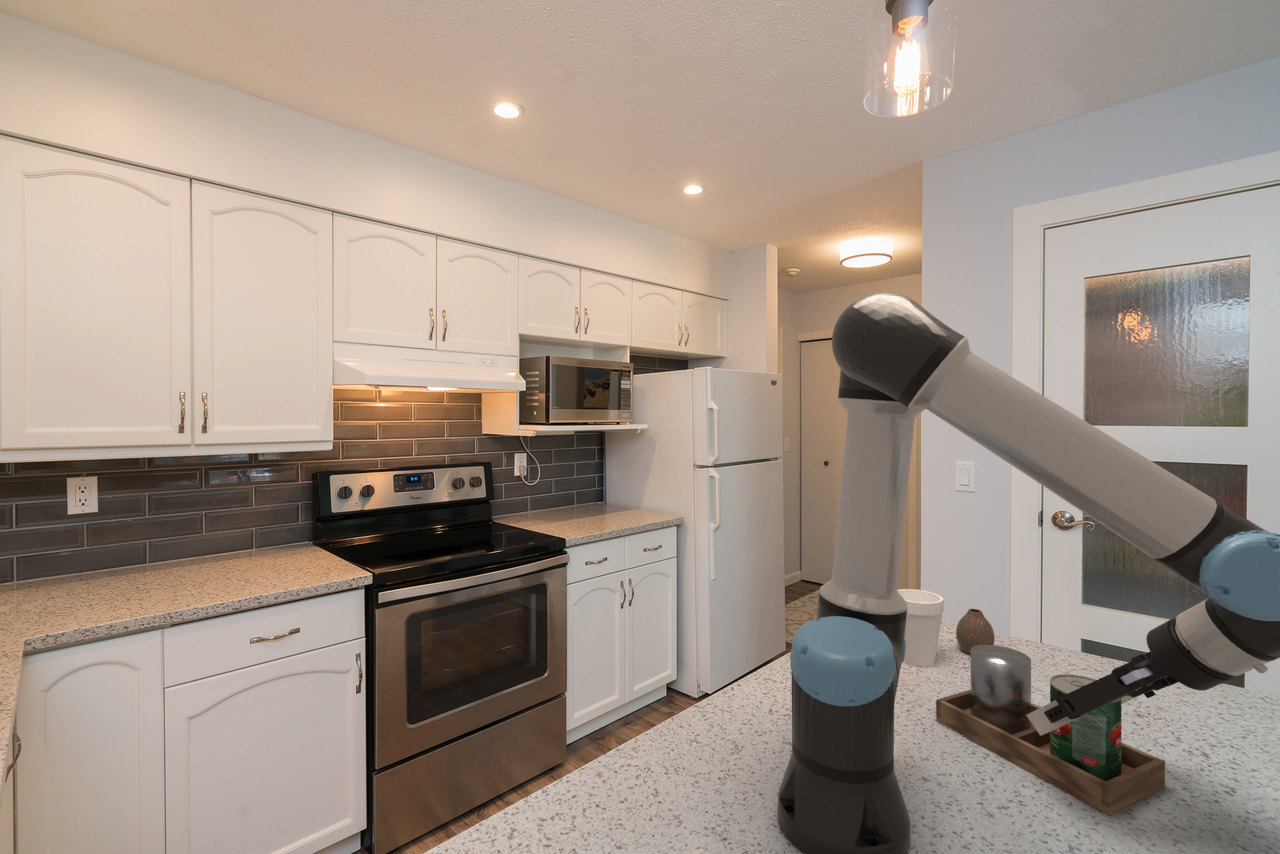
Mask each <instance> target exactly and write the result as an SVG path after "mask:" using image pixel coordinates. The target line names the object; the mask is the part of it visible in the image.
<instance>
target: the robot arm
mask: <svg viewBox="0 0 1280 854" xmlns="http://www.w3.org/2000/svg"><path fill="white" fill-rule="evenodd" d="M831 347H832V348H831V349H832V353H833V357H834V359H835V361H836V362H835V363H836V364H837V366H838V367H839V368H840V371H839V372H840V374H839V383H838V395H837V401H838V402H839V403H840V404H841V406H842V407H843V408H844V409H845V411H846V412H847V419H846V430H845V439H844V451H843V452H844V453H843V458H842V459H843V462H842V471H841V481H840V482H841V483H840V491H839V501H838V502H839V503H838V513H837V521H836V522H837V523H836V534H835V544H834V552H833V553H834V554H833V563H832V575H831V578H830V580H828V581H827V582H825V583H823V584H822V585H821V586H820V588H819V595H818V601H817V602H818V605H817V613H816V620H814V619H810V620H808V621H806V622H805V623H803V624H802V625H801V626H800V627H798V628H797V630H796V631H795V633H794V636H793V638H792V642H791V643H792V645H791V650H790V654H789V660H790V665H789V666H790V670H791V741H792V742H791V744H792V745H791V754H790V758H789V761H788V764H787V767H786V769H785V772H784V775H783V776H782V777H783V778H782V781H781V784H780V786H779V790H778V793H777V794H778V795H777V818H778V819H777V820H778V823H779V825H780V828H781V830H782V831H783V833H784V836H786V837H787V839H788V840H789V841H790V842H791V843H792V844H793V845H794V846H795V847H796V848H797V849H799V850H800V851H801V852H803V853H804V854H908V853H909V851H910V848H911V820H910V814H909V811H908V808H907V805H906V803H905V800H904V796H903V794H902V793H903V792H902V790H901V787H900V785H899V782H898V779H897V775H896V773H895V702H896V701H895V700H896V696H897V695H896V694H897V691H898V689H897V688H898V684H899V679H900V678H899V677H900V673H901V669H902V664H903V663H904V662H903V660H904V656H905V649H906V641H905V639H904V637H905V627H906V616H907V603H906V601H905V600H904V599H903V598H902V596H901V595H900V594H899V593H898V591H897V590H898V584H899V575H900V564H901V555H902V545H903V535H904V527H905V526H904V525H905V519H906V518H905V516H906V508H907V507H906V506H907V498H908V488H909V478H910V477H909V476H910V471H911V470H910V469H911V459H912V458H911V457H912V452H913V443H914V442H913V441H914V429H915V421H916V418H917V417H918V416H919V415H921V413H923V412H924V411H927V410H928V412H930V413H931V414H933V415H935V416H936V417H938V418H939V419H941V420H942V421H944V422H945V423H947V424H948V425H950V426H952V427H953V428H954V429H956V430H958V431H959V432H961V433H962V434H963V435H965V436H967V437H968V438H970V439H972V441H974V442H976V443H977V444H979V445H980V446H981V447H984V449H986V450H988V451H990V452H991V453H992V454H994V455H995V456H997V457H999V458H1000V459H1002V460H1003V461H1005V462H1006V463H1007V464H1009V465H1010V466H1013V467H1014V468H1015V469H1017V470H1018V471H1020V472H1021V473H1022V474H1024V475H1026V476H1027V477H1029V478H1030V479H1032V480H1033V481H1034V482H1036V483H1038V484H1040V485H1041V486H1042V487H1044V488H1045V489H1047V490H1049V491H1050V492H1052V493H1053V494H1054V495H1057V497H1059V498H1061V499H1062V500H1064V501H1065V502H1067V503H1069V504H1070V505H1072V506H1073V507H1075V508H1076V509H1078V510H1079V511H1081V512H1082V513H1083V514H1085V515H1087V516H1088V517H1090V518H1091V519H1093V520H1094V521H1095V522H1097V523H1098V524H1100V525H1102V526H1103V527H1105V528H1106V529H1108V530H1109V531H1111V532H1113V533H1114V534H1115V535H1116V536H1119V537H1120V538H1121V539H1123V540H1125V541H1126V542H1128V543H1130V544H1131V545H1132V546H1134V547H1135V548H1136V549H1138V550H1139V551H1142V552H1143V553H1145V554H1146V555H1147V556H1149V557H1150V558H1152V559H1153V560H1155V561H1156V562H1157V563H1159V565H1162V566H1163V567H1165V569H1168V570H1169V571H1170V572H1171V573H1174V574H1176V575H1177V576H1178V577H1180V578H1181V579H1182V580H1184V581H1186V582H1187V583H1189V584H1191V585H1192V586H1194V587H1195V588H1196V589H1198V590H1199V591H1201V592H1202V593H1204V594H1205V595H1206V596H1207V597H1208V598H1206V599H1204V600H1202V601H1201V602H1199V603H1196V604H1195V605H1194V606H1192V607H1190V608H1188V609H1186V610H1184V611H1183V612H1181V613H1179V614H1177V616H1176V618H1170V619H1169V620H1167V621H1165V622H1163V623H1161V624H1160V625H1158V626H1156V627H1154V628H1153V629H1151V630H1149V631H1148V632H1147V634H1146V639H1145V640H1146V644H1147V645H1146V646H1147V648H1148V650H1149V652H1146V653H1145V654H1143V653H1141V654H1138V655H1136V656H1134V657H1132V658H1131V659H1130V660H1129V662H1127V663H1124V664H1122V665H1120V666H1117V667H1114V668H1113V669H1112V670H1111V672H1110V673H1109V674H1107V675H1105V676H1102V677H1100V678H1098V679H1096V681H1094V682H1092V683H1089V684H1087V685H1085V686H1083V687H1081V688H1079V689H1076V690H1074V691H1072V692H1070V693H1068V694H1066V695H1063V694H1062V692H1061V691H1058V692H1056V694H1057V696H1058V697H1057V698H1056V699H1055V701H1053V702H1051V703H1050V702H1049V703H1047V704H1045V705H1043V706H1040V707H1041V708H1039V709H1037V710H1035V711H1033V712H1031V713H1029V714H1027V715H1026V716H1027V717H1028V719H1029V720H1030V721H1031V723H1032V724H1033V726H1034V727H1035V729H1036V730H1037V732H1038V733H1039V734H1040V736H1042V735H1044V734H1046V733H1048V732H1051V731H1053V730H1055V729H1057V728H1059V727H1061V726H1063V725H1065V724H1067V723H1070V722H1072V721H1074V720H1076V719H1078V718H1080V717H1082V715H1083V714H1085V713H1087V712H1090V711H1092V710H1094V709H1097V708H1099V707H1101V706H1103V705H1106V704H1108V703H1110V702H1113V701H1115V700H1117V699H1120V698H1122V699H1121V705H1123V704H1125V703H1127V702H1129V701H1132V700H1134V699H1136V698H1138V697H1140V696H1142V695H1144V697H1145V698H1146V699H1149V698H1152V697H1154V696H1156V695H1157V694H1156V692H1157V691H1160V690H1162V689H1164V688H1167V687H1170V686H1173V685H1176V684H1178V683H1180V684H1181V685H1183V686H1185V687H1187V688H1189V689H1192V690H1194V691H1195V690H1196V691H1203V692H1204V691H1208V690H1210V689H1212V688H1215V687H1217V686H1219V685H1221V684H1222V685H1223V684H1224V683H1226V682H1228V681H1231V680H1232V679H1233V678H1234V676H1236V677H1237V676H1241V675H1244V674H1245V673H1247V672H1250V671H1252V670H1255V671H1256V672H1257V673H1259V674H1265V673H1267V671H1268V670H1269V668H1268V667H1267V666H1266V665H1265V664H1268V663H1270V662H1273V661H1276V660H1278V659H1280V534H1278V533H1274V532H1270V531H1267V530H1266V529H1264V528H1263V527H1260V526H1259V525H1257V524H1256V523H1254V522H1252V521H1251V520H1249V519H1247V518H1246V517H1245V516H1243V515H1241V514H1239V513H1238V512H1235V510H1233V509H1231V508H1229V507H1227V506H1225V505H1224V504H1221V503H1220V502H1218V501H1216V499H1214V497H1212V496H1210V495H1208V494H1206V493H1205V492H1203V491H1201V490H1200V489H1198V488H1196V487H1194V485H1192V484H1190V483H1188V482H1187V481H1185V480H1183V479H1181V478H1180V477H1178V476H1177V475H1175V474H1173V473H1172V472H1170V471H1168V470H1167V469H1165V468H1163V467H1162V466H1160V465H1159V464H1158V463H1157V464H1156V463H1155V462H1154V461H1152V460H1150V459H1148V458H1147V457H1145V456H1144V455H1142V454H1140V453H1139V452H1137V451H1135V450H1134V449H1132V448H1131V447H1129V446H1128V445H1127V446H1126V445H1125V444H1124V443H1122V442H1121V441H1118V440H1117V439H1116V438H1114V437H1112V436H1111V435H1109V434H1107V433H1105V431H1102V430H1100V428H1097V427H1095V426H1094V425H1092V424H1090V423H1089V422H1087V421H1085V420H1084V419H1082V418H1081V417H1079V416H1077V415H1076V414H1075V413H1072V412H1071V411H1069V410H1067V409H1066V408H1064V407H1063V406H1060V405H1059V404H1058V403H1056V402H1054V401H1052V400H1051V399H1049V398H1048V397H1046V396H1044V395H1042V394H1041V393H1039V392H1038V391H1036V390H1034V389H1032V388H1031V387H1030V386H1027V385H1026V384H1024V383H1023V382H1021V381H1020V380H1018V379H1016V378H1014V377H1013V376H1011V375H1009V374H1008V373H1007V372H1004V371H1003V370H1001V369H999V368H998V367H996V366H995V365H993V364H991V363H989V362H988V361H987V360H985V359H984V358H981V357H980V356H978V355H976V354H975V353H973V351H971V348H970V343H969V338H968V337H966V336H965V335H963V334H961V333H959V332H958V331H956V330H954V329H953V328H951V327H950V326H948V325H947V324H945V323H944V322H942V321H941V320H940V319H938V318H937V317H935V315H932V314H931V313H930V312H929V311H928V310H927V309H926V308H924V307H923V306H922V305H920V303H918V302H917V301H915V300H914V299H912V298H910V297H908V296H906V295H903V294H900V293H895V292H889V291H888V292H884V291H882V292H876V293H871V294H867V295H864V296H862V297H860V298H859V299H856V300H855V301H854V302H853V303H850V305H848V307H846V308H845V309H844V311H842V313H841V314H840V315H839V316H838V319H837V321H836V322H835V324H834V328H833V331H832V336H831ZM1154 691H1156V692H1154Z"/></svg>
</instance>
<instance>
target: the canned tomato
mask: <svg viewBox="0 0 1280 854" xmlns="http://www.w3.org/2000/svg"><path fill="white" fill-rule="evenodd" d="M1096 680H1097V679H1096V678H1092V677H1090V676H1089V677H1088V676H1083V675H1080V674H1079V675H1078V674H1071V673H1070V674H1065V673H1064V674H1062V673H1061V674H1056V675H1052V676H1051V677H1050V678H1049V688H1050V689H1049V703H1051V702H1053V701H1055V699H1056V698H1057V697H1058V696H1057V694H1056V692H1058V691H1061V692H1062V694H1063V695H1066V694H1068V693H1070V692H1072V691H1074V690H1076V689H1079V688H1081V687H1083V686H1085V685H1087V684H1089V683H1092V682H1094V681H1096ZM1121 699H1122V698H1120V699H1117V700H1115V701H1113V702H1110V703H1108V704H1106V705H1103V706H1101V707H1099V708H1097V709H1094V710H1092V711H1090V712H1087V713H1085V714H1083V715H1082V717H1080V718H1078V719H1076V720H1074V721H1072V722H1070V723H1067V724H1065V725H1063V726H1061V727H1059V728H1057V729H1055V730H1053V731H1051V732H1050V754H1051V755H1053V756H1055V757H1057V758H1059V759H1061V760H1063V761H1065V762H1067V763H1069V764H1071V765H1073V766H1075V767H1077V768H1079V769H1081V770H1083V771H1085V772H1087V773H1089V774H1091V775H1093V776H1095V777H1097V778H1099V779H1101V780H1103V781H1105V782H1106V781H1108V780H1111V779H1113V778H1115V777H1117V776H1119V775H1122V773H1121V758H1122V757H1121V752H1122V751H1121V746H1122V745H1121V742H1123V740H1122V717H1123V716H1122V711H1123V710H1122V704H1121Z"/></svg>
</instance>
